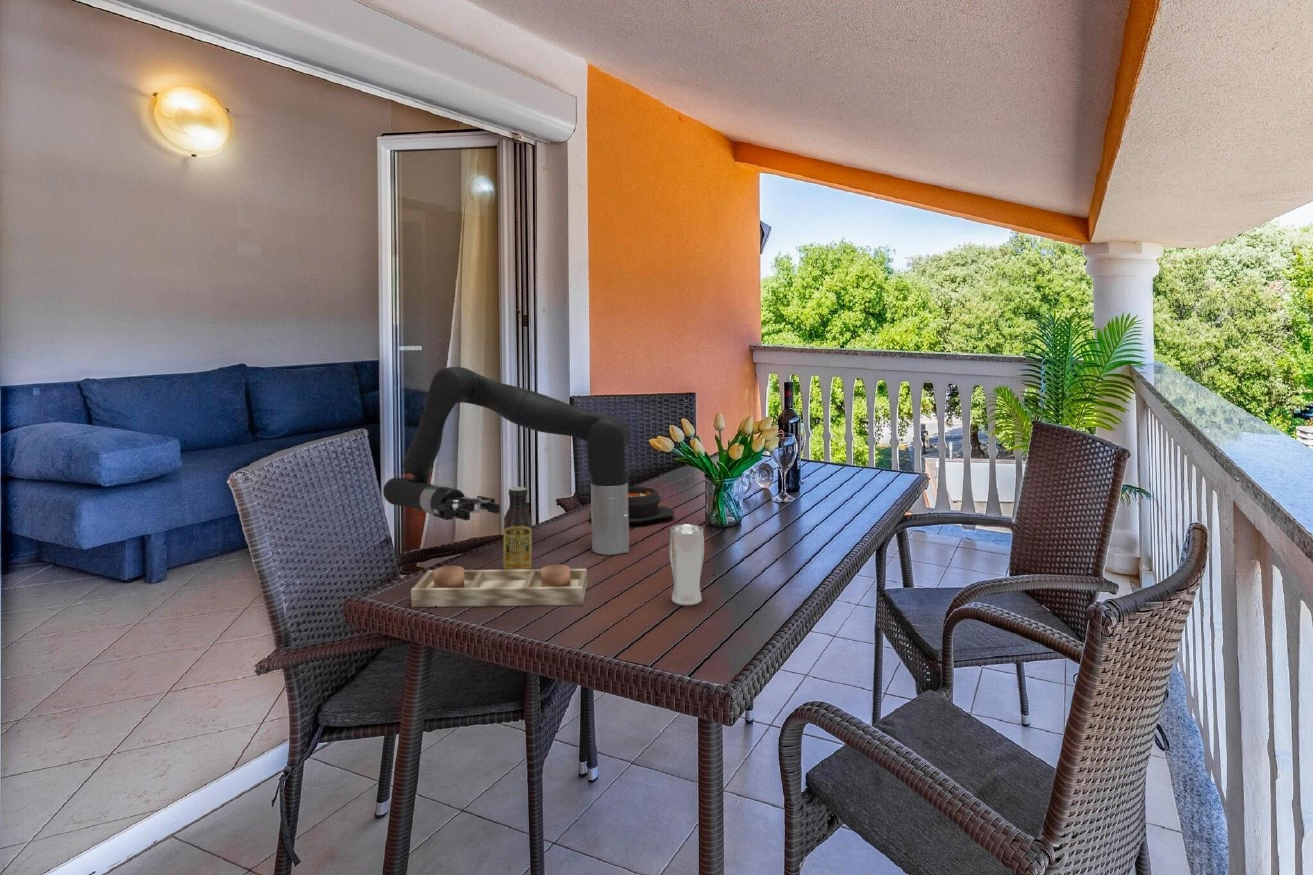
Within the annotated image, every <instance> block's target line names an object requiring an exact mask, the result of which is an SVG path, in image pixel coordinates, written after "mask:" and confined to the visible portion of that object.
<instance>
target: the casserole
mask: <svg viewBox="0 0 1313 875" xmlns="http://www.w3.org/2000/svg"><path fill="white" fill-rule="evenodd" d="M660 501H661V496H659V493H658V491H657V490H656V489H654V488H650V487H646V486H628V510H629V525H637V524H638V525H639V524H643V523H644V522H645V523H648V522H651V521H653V520H657V519H662V518H670V517H672V516H673V515H674V514H675V511H674V509H672V508H670V507H667V506H662V505H661V506H660V505H659V503H660ZM588 516H589V517H590V518H591V511H590V512H589V513H588ZM645 523H644V524H645Z"/></svg>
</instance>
